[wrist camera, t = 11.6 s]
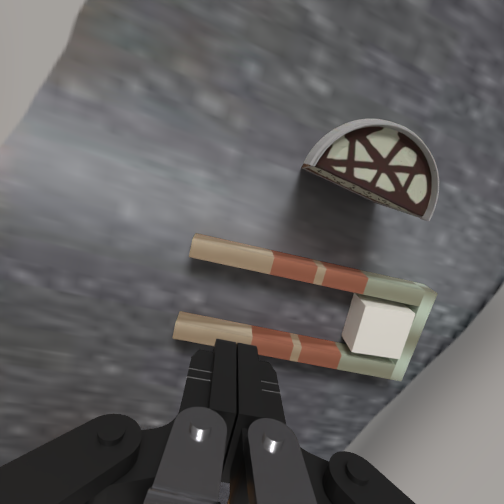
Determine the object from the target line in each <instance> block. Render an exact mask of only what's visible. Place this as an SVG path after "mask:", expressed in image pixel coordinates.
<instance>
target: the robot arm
mask: <svg viewBox="0 0 504 504" xmlns="http://www.w3.org/2000/svg"><path fill="white" fill-rule="evenodd" d="M221 482H225V483H230V495H229V498H228V502H227V504H415V503H414V502H413V501H412V500H411V499H410V498H408V497H407V496H406V495H405V494H404V493H403V492H402V491H401V490H399V489H398V488H397V487H396V486H395V485H394V484H393V483H392V482H391V481H389V480H388V479H387V478H386V477H385V476H384V475H383V474H382V473H380V472H379V471H378V470H377V469H376V468H375V467H374V466H373V465H371V464H370V463H369V462H368V461H367V460H365V459H364V458H362V457H360V456H358V455H356V454H354V453H351V452H345V451H343V452H337V453H335V454H334V455H333V456H332V457H331V458H330V461H329V462H328V461H326V460H324V459H322V458H319V457H317V456H315V455H313V454H311V453H309V452H307V451H305V450H304V449H302V448H301V447H300V446H299V442H298V439H297V437H296V435H295V434H294V432H293V431H292V430H291V429H290V428H289V427H288V426H287V425H286V422H285V416H284V411H283V406H282V401H281V395H280V390H279V385H278V380H277V374H276V372H275V370H274V369H273V367H272V366H271V365H270V363H269V362H263V361H259V358H258V349H257V346H254V345H249V344H244V343H238V342H237V344H236V342H233V341H228V340H222V339H216V341H215V345H214V349H213V352H209V351H204V350H198V351H197V352H196V353H195V354H194V355H193V356H192V357H191V362H190V366H189V371H188V375H187V380H186V384H185V389H184V393H183V398H182V402H181V406H180V410H179V413H178V415H177V416H176V418H175V419H174V420H173V421H171V422H170V423H169V424H167V425H165V426H163V427H159V428H155V429H148V430H141V429H140V427H139V425H138V423H137V422H136V421H135V420H133V419H132V418H130V417H128V416H125V415H121V414H107V415H103V416H99V417H97V418H95V419H92V420H91V421H89V422H87V423H85V424H83V425H81V426H79V427H77V428H75V429H73V430H71V431H69V432H67V433H65V434H63V435H61V436H60V437H58V438H56V439H54V440H52V441H50V442H48V443H46V444H44V445H42V446H40V447H38V448H36V449H34V450H32V451H30V452H28V453H27V454H25V455H23V456H21V457H19V458H17V459H15V460H13V461H11V462H9V463H7V464H5V465H3V466H1V467H0V504H221V503H220V502H218V500H219V491H220V483H221Z"/></svg>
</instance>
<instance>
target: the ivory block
mask: <svg viewBox="0 0 504 504" xmlns="http://www.w3.org/2000/svg"><path fill="white" fill-rule="evenodd" d="M414 317H415V313H414V312H413V311H412V310H411V309H409V308H408V307H407V306H406V305H405V304H404V303H400V302H396V301H391V300H387V299H382V298H377V297H373V296H368V295H363V294H359V293H354V295H353V298H352V302H351V305H350V309H349V312H348V315H347V319H346V322H345V326H344V329H343V332H342V337H343V339H344V340H345V342H346V344H347V345H348V347H349V349H350V350H351V352H354V353H361V354H368V355H374V356H381V357H388V358H394V359H400V357H401V354H402V351H403V348H404V345H405V343H406V340H407V337H408V334H409V331H410V328H411V326H412V323H413V320H414Z"/></svg>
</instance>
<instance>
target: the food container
mask: <svg viewBox="0 0 504 504" xmlns="http://www.w3.org/2000/svg"><path fill="white" fill-rule="evenodd" d="M301 168H302V169H304V170H306V171H308V172H311V173H313V174H315V175H317V176H319V177H321V178H323V179H325V180H327V181H330V182H332V183H334V184H336V185H338V186H340V187H342V188H344V189H347V190H349V191H351V192H353V193H355V194H357V195H359V196H361V197H364V198H366V199H368V200H370V201H372V202H374V203H377V204H380V205H383V206H386V207H389V208H392V209H395V210H398V211H401V212H404V213H407V214H410V215H413V216H416V217H419V218H420V219H423V220H427V221H430V219H431V217H432V214H433V212H434V210H435V207H436V204H437V199H438V194H439V176H438V169H437V166H436V163H435V160H434V158H433V156H432V154H431V152H430V150H429V149H428V147H427V146H426V145H425V143H424V142H423V141H422V140H421V139H420V138H419V137H418V136H417V135H416V134H415V133H414V132H412V131H410V130H409V129H407V128H406V127H404V126H401V125H399V124H396V123H393V122H390V121H385V120H381V119H361V120H355V121H352V122H349V123H345V124H343V125H341V126H339V127H337V128H335V129H333V130H332V131H331V132H329V133H328V134H326V135H325V136H324V137H323V138H322V139H321V140H320V141H319V142H318V143H317V144H316V145H315V146H314V147H313V149H312V150H311V151H310V152H309V154H308V155H307V157H306V159H305V161H304V164H303V166H302V167H301Z"/></svg>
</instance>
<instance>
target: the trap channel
mask: <svg viewBox="0 0 504 504" xmlns="http://www.w3.org/2000/svg"><path fill="white" fill-rule="evenodd" d="M189 257H192V258H196V259H201V260H206V261H210V262H215V263H220V264H224V265H229V266H234V267H238V268H243V269H247V270H252V271H257V272H261V273H266V274H271V275H275V276H280V277H285V278H289V279H294V280H298V281H303V282H308V283H312V284H317V285H322V286H326V287H331V288H336V289H340V290H345V291H349V292H354V293H359V294H363V295H368V296H373V297H377V298H382V299H387V300H391V301H396V302H400V303H404V304H405V305H406V306H407V307H408V308H409V309H411V310H412V311H413V312H414V313H415V317H414V320H413V323H412V326H411V328H410V331H409V334H408V337H407V340H406V343H405V345H404V348H403V351H402V354H401V357H400V359H394V358H388V357H381V356H374V355H368V354H361V353H354V352H351V350H350V349H349V347H348V345H347V344H343V343H338V342H333V341H328V340H323V339H318V338H313V337H308V336H303V335H298V334H293V333H287V332H282V331H277V330H272V329H267V328H262V327H257V326H252V325H247V324H242V323H237V322H232V321H227V320H222V319H217V318H211V317H206V316H201V315H196V314H191V313H186V312H181V311H180V312H179V315H178V318H177V320H176V323H175V328H174V333H173V338H174V339H179V340H184V341H190V342H195V343H200V344H205V345H211V346H214V345H215V341H216V339H222V340H228V341H233V342H236V344H237V342H238V343H244V344H249V345H254V346H257V349H258V354H259V355H264V356H269V357H275V358H280V359H285V360H291V361H296V362H301V363H306V364H312V365H317V366H322V367H328V368H333V369H338V370H344V371H349V372H354V373H360V374H365V375H370V376H376V377H381V378H386V379H391V380H397V381H402V378H403V376H404V374H405V371H406V369H407V366H408V364H409V361H410V359H411V357H412V354H413V352H414V349H415V347H416V344H417V342H418V340H419V337H420V335H421V332H422V330H423V328H424V325H425V323H426V320H427V318H428V315H429V313H430V311H431V308H432V306H433V303H434V301H435V298H436V296H437V293H436V292H434V291H433V290H431V289H430V288H428V287H427V286H425V285H424V284H420V283H416V282H412V281H407V280H403V279H398V278H394V277H389V276H385V275H380V274H376V273H371V272H367V271H362V270H358V269H353V268H349V267H345V266H340V265H336V264H331V263H327V262H322V261H318V260H313V259H309V258H304V257H300V256H295V255H291V254H286V253H282V252H278V251H273V250H269V249H264V248H260V247H255V246H251V245H246V244H242V243H237V242H233V241H228V240H224V239H220V238H215V237H211V236H206V235H202V234H197V233H196V234H195V236H194V237H193V239H192V244H191V249H190V254H189Z"/></svg>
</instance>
